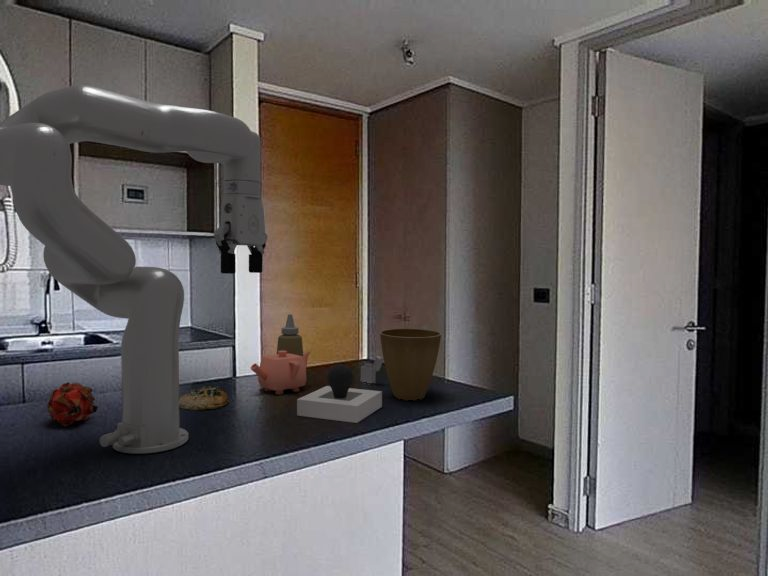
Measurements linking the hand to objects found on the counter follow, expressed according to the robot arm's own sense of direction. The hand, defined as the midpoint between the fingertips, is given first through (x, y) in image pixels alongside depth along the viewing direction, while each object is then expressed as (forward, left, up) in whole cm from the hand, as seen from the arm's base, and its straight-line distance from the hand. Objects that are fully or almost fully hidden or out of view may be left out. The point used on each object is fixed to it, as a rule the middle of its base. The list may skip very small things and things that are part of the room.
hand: (242, 272), depth 119 cm
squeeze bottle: (+35, +9, -31) cm, 47 cm away
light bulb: (+11, -18, -30) cm, 37 cm away
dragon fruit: (-18, +28, -31) cm, 45 cm away
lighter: (+39, -14, -31) cm, 51 cm away
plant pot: (+29, -28, -31) cm, 51 cm away
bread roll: (+4, +13, -31) cm, 34 cm away
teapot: (+23, +4, -31) cm, 38 cm away
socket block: (+11, -18, -30) cm, 37 cm away
